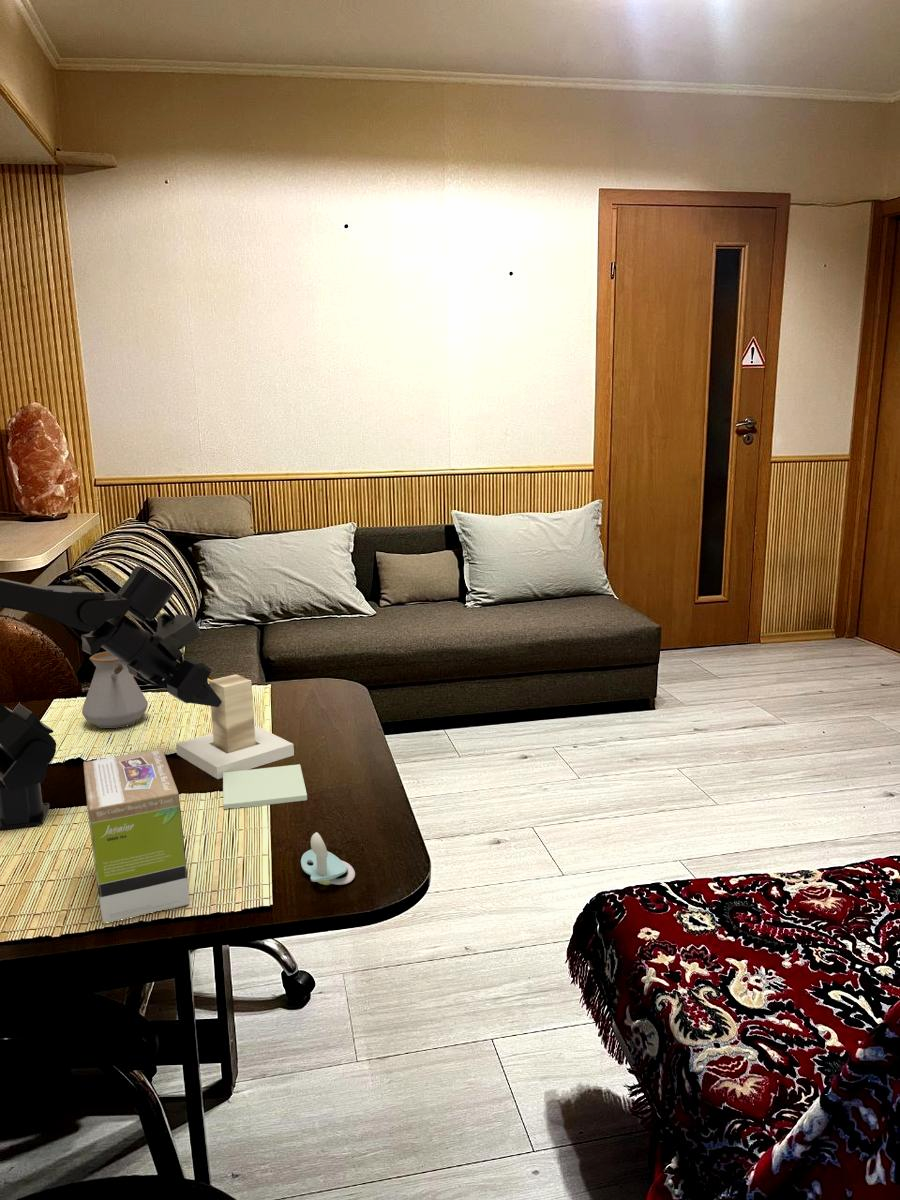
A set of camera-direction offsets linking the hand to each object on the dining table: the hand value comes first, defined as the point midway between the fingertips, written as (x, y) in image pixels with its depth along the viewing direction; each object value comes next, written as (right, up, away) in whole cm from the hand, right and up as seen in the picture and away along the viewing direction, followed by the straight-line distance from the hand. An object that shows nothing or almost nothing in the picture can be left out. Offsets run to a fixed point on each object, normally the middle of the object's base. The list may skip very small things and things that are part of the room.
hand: (205, 697), depth 147 cm
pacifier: (+24, -19, -34) cm, 46 cm away
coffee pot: (-20, -8, +18) cm, 28 cm away
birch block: (+4, -10, +5) cm, 12 cm away
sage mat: (+11, -13, -8) cm, 19 cm away
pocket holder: (+4, -10, +5) cm, 12 cm away
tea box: (+1, -20, -35) cm, 40 cm away
